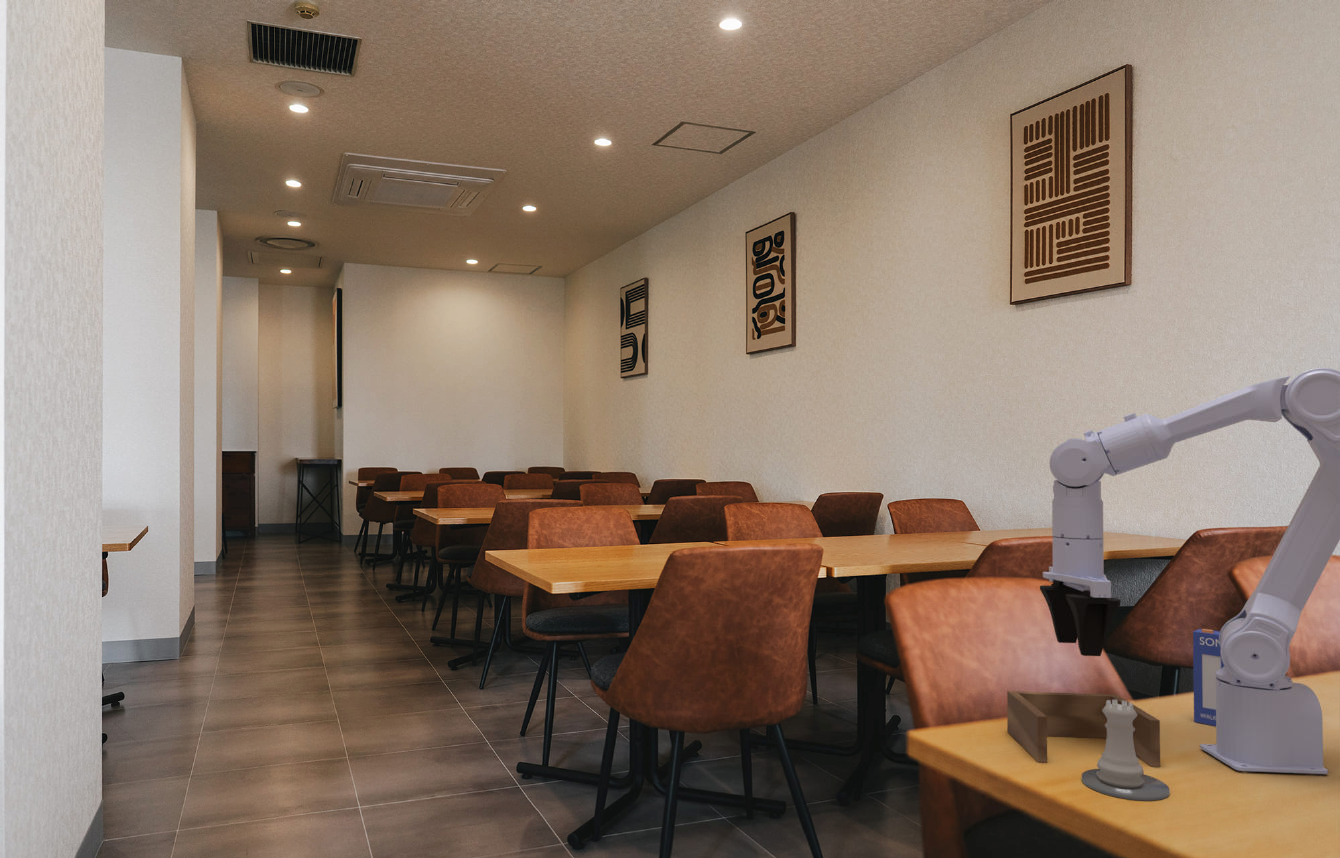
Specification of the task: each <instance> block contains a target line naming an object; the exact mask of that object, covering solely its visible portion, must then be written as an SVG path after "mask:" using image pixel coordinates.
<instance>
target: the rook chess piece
mask: <svg viewBox="0 0 1340 858" xmlns="http://www.w3.org/2000/svg"><path fill="white" fill-rule="evenodd" d="M1127 701H1128V700H1127ZM1127 701H1123V700H1122V705H1121V704H1118V700H1112V704H1111V701H1110V700H1107V701H1106V706H1105V707H1104V708H1103V709H1102V711H1103V713H1104V714H1105V716H1106V717H1107V723H1106V724H1105V727H1106V728H1107V738H1105V746H1104V747H1105V748H1104V750H1103V753H1101V757H1100V758H1099V759H1098V760H1097V763H1096V766H1097V769H1100V770H1099V771H1097V773H1096V775H1097V776H1098V778H1099V779H1100V780H1101V781H1102V782H1103V783H1105V784H1108V785H1111V786H1114V787H1119V788H1129V789H1133V788H1139V787H1140V786H1142V784H1143V783H1144V779H1143V778H1142V777H1141V775H1142V774H1144V773H1145V772H1144V767H1143V765H1142V764H1141V763H1140V762H1139V761H1140V758H1138V757H1137V756H1136V753H1135V749H1134V742H1133V732H1134V731H1135V728H1134V727H1133V724H1132V722H1133V720H1134V719H1135V718H1136V717H1137V713H1136V711H1135V710H1134V709H1133V705H1134V703H1132V702H1130V703H1128V706H1127Z"/></svg>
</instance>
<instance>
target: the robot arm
mask: <svg viewBox="0 0 1340 858" xmlns="http://www.w3.org/2000/svg"><path fill="white" fill-rule="evenodd" d="M1290 378H1291V375H1286V376H1281V377H1277V378H1273V379H1269V380H1268V379H1267V380H1266V381H1262V382H1259V383H1255V384H1250V385H1247V386H1245V387H1241V388H1239V389H1238V390H1234V391H1232V392H1230V393H1227V394H1225V395H1222V396H1220V397H1216V398H1214V399H1210V400H1209V401H1206V402H1203V403H1201V404H1199V405H1196V406H1194V407H1192V408H1189V409H1186V410H1184V411H1181V412H1179V413H1176V414H1173V415H1171V416H1167V417H1166V418H1161V417H1157V416H1154V415H1152V414H1150V413H1143V414H1142V415H1141V414H1140V415H1138V416H1137V414H1136V413H1135V412H1132V413H1129V414H1126V415H1124V416H1123V419H1124V421H1122V422H1120V423H1116V424H1113V425H1111V426H1109V427H1105V428H1103V429H1100V430H1098V431H1095V432H1094V431H1093V429H1089V430H1087V431H1084V432H1083V436H1084V439H1082V438H1073V437H1072V438H1068V439H1066V440H1065V441H1064V442H1062V443H1060V444H1059V445H1057V446H1055V448H1054V449H1053V451H1052V452H1051V455H1050V458H1049V469H1050V472H1051V474H1052V476H1053V477H1054V478H1055V479H1054V480H1053V485H1052V493H1053V498H1052V501H1051V504H1052V505H1051V507H1052V509H1051V511H1052V515H1051V516H1052V520H1051V521H1052V522H1051V523H1052V525H1051V526H1052V533H1051V534H1052V535H1051V536H1052V566H1048V571H1043V572H1042V578H1044V579H1047V580H1048V581H1049V582H1050V584H1051V585H1046V584H1045V585H1039V590H1040V592H1041V594H1042V595H1043V598H1044V600H1045V602H1046V604H1047V606H1048V611H1049V613H1050V616H1051V621H1052V624H1053V629H1054V634H1055V638H1056V640H1057V643H1059V644H1061V643H1062V644H1078V649H1079V652H1080V655H1081V656H1085V657H1101V655H1102V653H1103V650H1104V646H1105V641H1106V637H1107V633H1108V630H1109V627H1110V624H1111V622H1112V620H1113V618H1114V616H1115V613H1116V612H1117V611H1118V609H1119V608H1120V607H1121V599H1120V598H1117V597H1112V581H1111V580H1109V579H1107V575H1106V574H1104V573H1105V571H1104V567H1105V566H1104V560H1105V559H1104V547H1105V546H1104V501H1103V500H1102V481H1101V479H1102V478H1103V477H1104V474H1107V475H1109V476H1111V477H1115V476H1117V475H1121V474H1124V473H1127V472H1130V471H1132V470H1136V469H1139V468H1141V467H1144V466H1146V465H1147V466H1148V465H1150V464H1153V463H1156V462H1158V461H1162V460H1165V459H1167V458H1168V457H1169V456H1170V453H1171V450H1172V448H1173V446H1174V445H1175V444H1176V443H1178V442H1182V441H1185V440H1189V439H1191V438H1194V437H1197V436H1202V435H1204V434H1207V433H1211V432H1214V431H1216V430H1219V429H1223V428H1226V427H1230V426H1231V425H1235V424H1238V423H1241V422H1244V421H1259V422H1267V423H1268V422H1269V423H1277V422H1279V421H1281V420H1282V419H1283V418H1284V420H1285V421H1287V422H1288V423H1289V424H1290V425H1291V426H1292V427H1293V428H1294V429H1295V430H1296V431H1297V432H1299V433H1300V434H1301V435H1302V436H1303V437H1304V438H1305V439H1307V443H1308V444H1309V446H1310V448H1311V450H1312V452H1313V453H1314V454H1315V455H1314V456H1315V457H1316V459H1317V460H1318V462H1319V466H1318V468H1317V470H1316V472H1315V473H1314V476H1313V478H1312V480H1311V481H1310V484H1309V485H1308V488H1307V489H1306V491H1305V493H1304V495H1303V497H1302V499H1301V500H1300V502H1299V505H1298V507H1297V508H1296V511H1295V513H1294V515H1293V516H1292V518H1291V521H1290V522H1289V524H1288V526H1287V528H1286V529H1285V532H1284V533H1283V535H1282V537H1281V540H1280V542H1279V543H1278V545H1277V548H1276V549H1275V551H1274V553H1273V555H1272V556H1271V559H1270V560H1269V561H1268V562H1269V563H1268V565H1267V567H1266V568H1265V570H1264V572H1263V574H1262V576H1261V577H1260V579H1259V581H1258V584H1257V585H1256V587H1255V589H1254V591H1253V592H1252V593H1251V595H1250V596H1249V598H1248V599H1247V600H1246V602H1245V603H1244V604H1245V605H1244V606H1243V608H1242V609H1241V611H1240V612H1239V613H1238V614H1237V615H1235V616H1234V617H1232V618H1231V619H1229V620H1228V621H1227V622H1225V623H1224V625H1223V626H1222V627H1221V629H1220V630H1219V631H1220V634H1219V645H1220V648H1221V651H1220V653H1221V659H1222V662H1223V664H1224V667H1223V668H1221V669H1220V670H1218V671H1216V672H1215V675H1216V726H1215V727H1216V728H1215V730H1216V731H1215V733H1216V734H1215V735H1216V736H1215V737H1216V738H1215V739H1216V740H1215V741H1216V742H1215V743H1216V744H1211V743H1210V744H1209V743H1200V744H1199V748H1200V749H1201V750H1202V751H1204V752H1206V754H1207V753H1208V754H1209V755H1211V756H1212V757H1214V758H1216V759H1217V760H1219V761H1220V762H1222V763H1224V764H1225V765H1227V766H1228V767H1230V768H1232V769H1234V770H1235V771H1241V772H1259V773H1260V772H1261V773H1263V772H1264V773H1285V774H1288V773H1289V774H1292V773H1293V774H1312V775H1313V774H1314V775H1327V774H1328V773H1329V769H1327V768H1326V767H1324V733H1323V732H1324V729H1323V711H1322V710H1323V709H1322V706H1321V703H1320V701H1319V698H1318V696H1317V694H1316V693H1315V691H1314V690H1313V689H1312V688H1311V687H1309V686H1308V685H1306V684H1304V683H1300V682H1293V680H1292V678H1291V677H1290V676H1287V675H1286V674H1287V672H1288V671H1289V668H1290V665H1291V655H1290V652H1291V651H1290V645H1291V642H1292V640H1293V637H1294V635H1295V633H1296V631H1297V629H1298V624H1299V621H1300V618H1301V615H1302V612H1303V610H1304V608H1305V606H1306V604H1307V602H1308V600H1309V598H1310V597H1311V595H1312V593H1313V591H1314V589H1315V587H1316V585H1317V583H1318V582H1319V579H1320V578H1321V576H1322V574H1323V572H1324V570H1325V568H1326V566H1327V565H1328V563H1329V560H1331V557H1332V555H1333V554H1334V551H1335V550H1336V547H1337V546H1338V544H1339V543H1340V370H1339V369H1338V370H1337V369H1333V368H1330V367H1315V368H1312V369H1307V370H1304V371H1302V372H1301V373H1299V374H1298V375H1297V376H1295V377H1294V378H1293V379H1292V380H1291V381H1290V382H1289V383H1288V384H1286V383H1287V381H1288V380H1289V379H1290Z"/></svg>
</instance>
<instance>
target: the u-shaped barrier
mask: <svg viewBox="0 0 1340 858" xmlns="http://www.w3.org/2000/svg"><path fill="white" fill-rule="evenodd" d="M1006 697H1007V699H1006V701H1007V702H1006V703H1007V705H1006V708H1007V710H1006V711H1007V716H1006V717H1007V734H1009V735H1010V736H1011V737H1012V738H1013V740H1015V741H1016V742H1017V743H1018V744H1019V746H1021V747H1022V748H1023V750H1024V751H1026V752H1027V753H1028V754H1029V755H1030V756H1031V757H1032V758H1033V759H1034V760H1035V761H1036V762H1037V763H1045V764H1046V763H1048V737H1063V738H1064V737H1065V738H1067V737H1068V738H1091V739H1092V738H1093V739H1107V728H1106V727H1105V724H1106V723H1107V717H1106V716H1105V714H1104V713H1103V711H1102V709H1103V708H1104V707H1105V706H1106V701H1107V700H1110V701H1111V704H1112V700H1118V704H1121V705H1122V700H1123V701H1127V706H1128V703H1131V702H1129V701H1128V700H1127V699H1125V698H1123V697H1121V696H1120V695H1118V694H1114V693H1113V694H1111V693H1109V694H1108V693H1106V694H1104V693H1083V692H1081V693H1078V692H1077V693H1076V692H1051V691H1050V692H1049V691H1047V692H1046V691H1019V690H1018V691H1015V690H1014V691H1013V690H1007V696H1006ZM1133 709H1134V710H1135V711H1136V713H1137V717H1136V718H1135V719H1134V720H1133V722H1132V724H1133V727H1134V728H1135V731H1134V732H1133V742H1134V749H1135V753H1136V757H1137V758H1138V759H1139V760H1142V762H1144V763H1145V764H1146V765H1148V766H1150V767H1152V768H1153V767H1154V768H1155V767H1157V768H1160V767H1161V723H1160V722H1161V721H1160V720H1159V719H1158V718H1157V717H1155V716H1153V715H1151V714H1150V713H1148V712H1146V711H1145V710H1143V709H1142V708H1140V707H1138V706H1136V705H1135V704H1133Z"/></svg>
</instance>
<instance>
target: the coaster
mask: <svg viewBox="0 0 1340 858" xmlns="http://www.w3.org/2000/svg"><path fill="white" fill-rule="evenodd" d="M1099 770H1100V769H1099V768H1092V769H1087V770H1086V771H1083V772H1082V773H1081V782H1082V783H1083V785H1085V786H1086V787H1088V788H1089V789H1091V790H1093V791H1095V792H1097V793H1099V794H1103V795H1107V796H1110V797H1115V798H1118V799H1124V800H1131V801H1144V802H1148V801H1149V802H1150V801H1159V800H1160V801H1161V800H1164V799H1167V798H1168V797H1169V796H1170V787H1169V785H1168V784H1167V783H1165V782H1164V781H1162V780H1160V779H1158V778H1155V777H1153V776H1151V775H1148V774H1144V773H1143V774H1142V775H1141V777H1142V778H1143V779H1144V783H1143V784H1142V786H1140V787H1139V788H1133V789H1129V788H1119V787H1114V786H1111V785H1108V784H1105V783H1103V782H1102V781H1101V780H1100V779H1099V778H1098V776H1097V775H1096V773H1097V771H1099Z"/></svg>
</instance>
